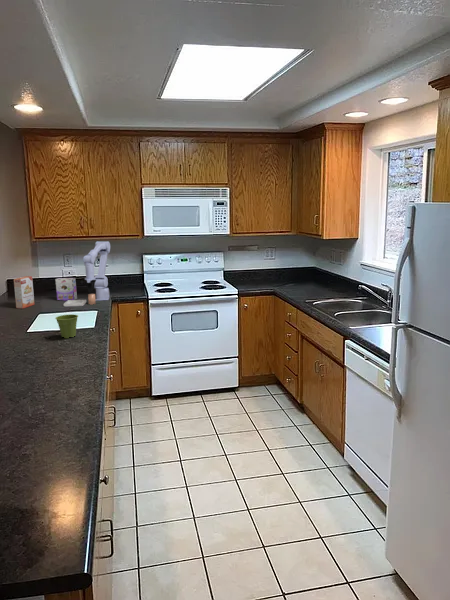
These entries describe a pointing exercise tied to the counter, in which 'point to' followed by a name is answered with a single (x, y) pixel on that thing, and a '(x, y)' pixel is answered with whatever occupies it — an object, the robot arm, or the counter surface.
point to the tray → (74, 303)
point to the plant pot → (67, 325)
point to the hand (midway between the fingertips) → (91, 291)
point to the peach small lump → (91, 299)
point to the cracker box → (24, 292)
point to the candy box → (66, 289)
